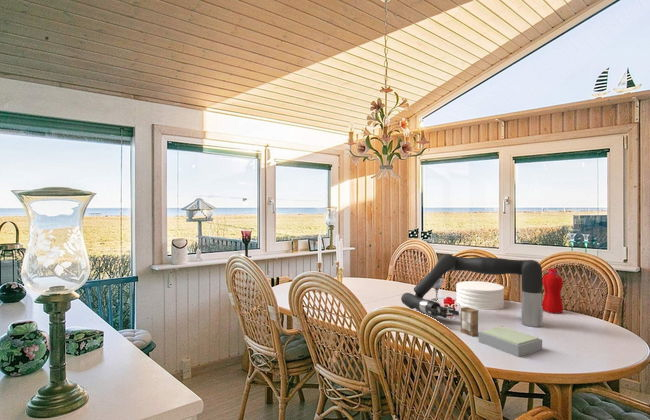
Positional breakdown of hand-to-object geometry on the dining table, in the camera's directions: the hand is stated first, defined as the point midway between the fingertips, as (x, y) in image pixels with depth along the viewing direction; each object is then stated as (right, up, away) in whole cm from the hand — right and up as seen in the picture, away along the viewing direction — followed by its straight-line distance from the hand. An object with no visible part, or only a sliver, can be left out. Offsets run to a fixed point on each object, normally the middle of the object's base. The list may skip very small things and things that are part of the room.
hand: (452, 314), depth 199 cm
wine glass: (+8, -6, +57) cm, 57 cm away
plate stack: (+32, -6, +47) cm, 57 cm away
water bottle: (+67, -6, +27) cm, 73 cm away
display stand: (+17, -7, -25) cm, 31 cm away
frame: (+5, -7, -9) cm, 13 cm away
